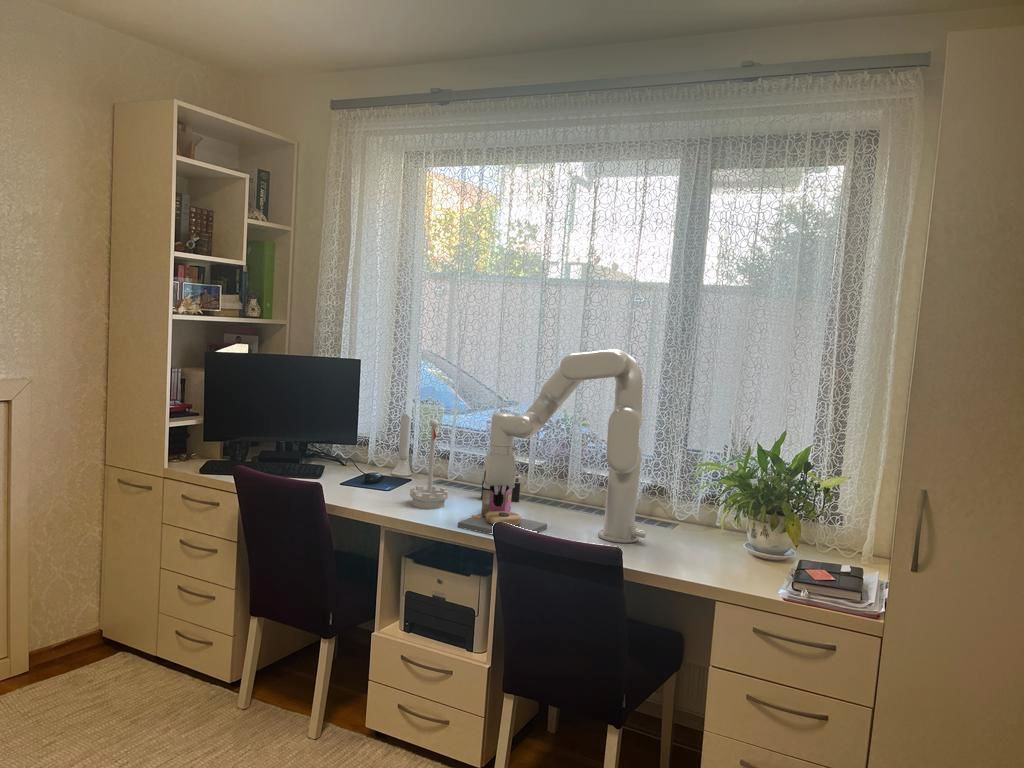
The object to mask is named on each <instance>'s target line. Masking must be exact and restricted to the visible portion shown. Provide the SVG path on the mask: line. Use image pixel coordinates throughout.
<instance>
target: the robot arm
mask: <svg viewBox="0 0 1024 768" xmlns="http://www.w3.org/2000/svg"><path fill="white" fill-rule="evenodd" d="M609 378H614V380H615V389H614V406H613V411H612V412H611V414H610V415H609V418H608V422H607V438H606V461H607V464H608V466H609V467H608V468H609V471H608V477H607V486H606V487H607V488H606V490H607V491H606V498H605V499H606V500H605V508H604V509H605V510H604V520H603V521H604V522H603V529H600V530H598V534H597V535H598V537H599V538H601V539H603V540H605V541H609V542H613V543H626V544H627V543H629V544H630V543H635V542H638V540H639V538H641V539H646V538H647V532H646V530H642V529H639V528H638V524H635V523H636V522H635V521H636V513H637V511H636V509H637V501H638V500H637V499H638V490H639V481H640V473H641V463H642V449H641V447H640V442H639V441H640V440H639V439H640V429H641V427H642V424H643V386H644V385H643V382H644V381H643V380H644V379H643V374H642V369H641V367H640V366H639V363H638V362H637V360H636V359H635V358H634V357H633V356H631V355H630V354H629V353H627V352H625V351H623V350H621V349H617V348H610V349H604V350H596V351H595V350H594V351H587V352H572V353H568V354H567V355H565V356H564V357H563V358H562V359H561V361H560V365H559V367H558V368H557V369H556V370H555V371H554V372H553V373H552V375H551V376H550V377H549V378H548V379H547V381H545V382H544V384H543V385H542V388H541V390H540V393H539V395H538V397H537V398H536V400H535V401H534V402H533V403H532V404H531V406H530V407H529V408H528V409H527V410H526V411H525V412H524V413H523V414H520V415H514V414H512V413H511V412H500V411H499V412H494V413H493V414H492V416H491V425H490V438H489V440H490V442H489V453H486V456H485V460H484V464H483V465H484V466H483V467H484V468H483V472H482V478H483V481H484V484H483V487H484V488H486V489H490V490H491V491H492V492H493V493H494V494H493V503H494V505H495V506H496V507H498V506H500V507H501V506H502V503H503V496H504V494H505V492H506V491H507V490H508V489H512V488H514V487H515V478H516V474H517V473H516V472H517V471H516V469H517V468H516V467H517V466H516V460H515V458H516V457H515V454H514V453H515V452H518V447H517V446H514V437H515V438H517V439H522V440H523V439H524V440H525V439H528V438H530V437H532V436H534V435H535V434H538V432H540V431H541V429H543V427H544V426H545V425H546V424H547V422H548V421H549V420H550V419H551V418H552V417H553V415H554V414H555V413H556V412H557V411H558V410H559V408H561V406H562V405H563V404H564V403H565V402H566V400H567V399H568V398H569V397H570V396H571V394H572V393H573V392H574V391H575V390H577V389H576V388H578V387H579V385H581V383H582V382H583V381H588V380H589V381H590V380H598V379H609ZM498 485H500V489H499V493H498Z"/></svg>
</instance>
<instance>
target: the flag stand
mask: <svg viewBox="0 0 1024 768" xmlns="http://www.w3.org/2000/svg"><path fill="white" fill-rule="evenodd" d="M429 426H430V427H431V431H430V447H429V460H428V465H429V466H428V474H427V475H428V477H427V487H426V488H424V486H423V485H416V487H413V486H412V487H411V488H410V490H409V492H410V493H409V496H410V498H411V499H412V506H413V507H416V508H419V509H426V510H429V509H430V510H436V509H437V510H438V509H441V508H444V507H445V501H446V500H447V499H449V490H447V488H445V487H440V489H437V486H436V485H433V475H434V462H435V460H434V459H435V450H436V449H435V448H436V439H437V433H436V432H437V428H438V427H439V421H438V420H437V419H435V418H434V419H431V420H430V422H429Z"/></svg>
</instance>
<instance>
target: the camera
mask: <svg viewBox="0 0 1024 768" xmlns="http://www.w3.org/2000/svg"><path fill="white" fill-rule="evenodd" d="M521 481H522V476H521V474H519V473H516V478H515V487H514V488H512V498H511V503H520V495H521V494H520V493H521V484H522V483H521ZM483 484H484V481H483V477H482V481H481V493H480V499H481V501H482V498H483V490H490V489H486V488H484V487H483ZM490 491H491V490H490Z"/></svg>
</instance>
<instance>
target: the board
mask: <svg viewBox="0 0 1024 768" xmlns="http://www.w3.org/2000/svg"><path fill="white" fill-rule="evenodd" d="M520 516H521V523H520V524H519V525H517V526H518V527H521V528H524V529H528V530H532V531H537V532H538V533H540V532H542V531H544V530H547V529H548V523H547V522H546V523H545V522H541V521H537V520H531V519H528V518H527V519H526V518H523V515H520ZM492 526H493V524H490V523H488V522H486V516H482V515H481V513H480V514H477V515H475V514H472V515H470V517H469V518H466V519H463V520H460V521H458V522H457V528H460V527H461V528H460V529H464V528H466V529H465V530H469V529H471V530H470V531H473V530H477V531H476V532H478V531H481V532H480V533H482V532H485V533H484V534H487V533H492Z"/></svg>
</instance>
